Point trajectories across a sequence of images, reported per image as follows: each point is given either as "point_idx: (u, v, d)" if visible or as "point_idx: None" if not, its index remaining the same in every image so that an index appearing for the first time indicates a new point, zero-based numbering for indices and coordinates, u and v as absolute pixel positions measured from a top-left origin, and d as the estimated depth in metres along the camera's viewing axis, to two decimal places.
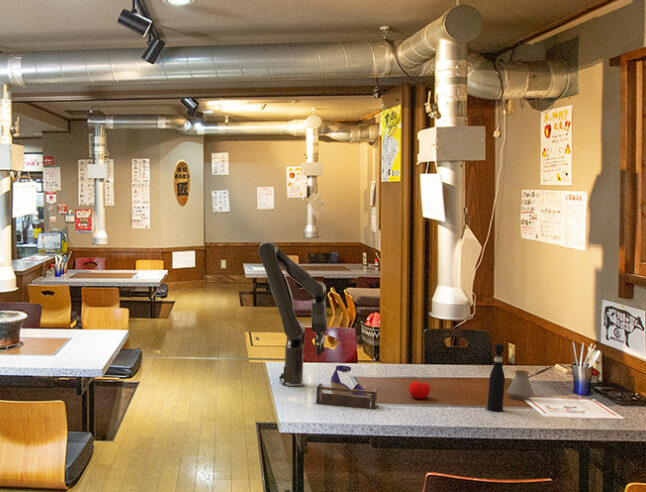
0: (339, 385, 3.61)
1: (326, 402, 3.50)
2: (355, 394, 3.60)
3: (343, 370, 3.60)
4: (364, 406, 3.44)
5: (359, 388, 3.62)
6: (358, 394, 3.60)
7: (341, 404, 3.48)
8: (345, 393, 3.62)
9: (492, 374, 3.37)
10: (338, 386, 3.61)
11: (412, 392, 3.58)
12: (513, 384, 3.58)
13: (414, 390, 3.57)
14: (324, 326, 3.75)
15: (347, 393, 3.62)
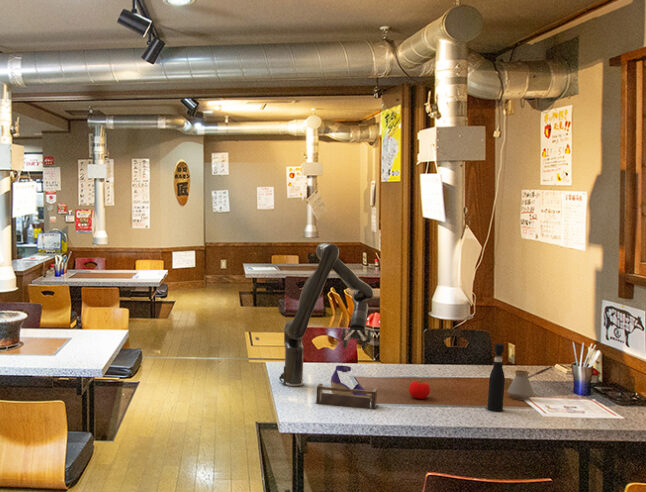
0: (339, 385, 3.61)
1: (326, 402, 3.50)
2: (355, 394, 3.60)
3: (343, 370, 3.60)
4: (364, 406, 3.44)
5: (359, 388, 3.62)
6: (358, 394, 3.60)
7: (341, 404, 3.48)
8: (345, 393, 3.62)
9: (492, 374, 3.37)
10: (338, 386, 3.61)
11: (412, 392, 3.58)
12: (513, 384, 3.58)
13: (414, 390, 3.57)
14: None
15: (347, 393, 3.62)
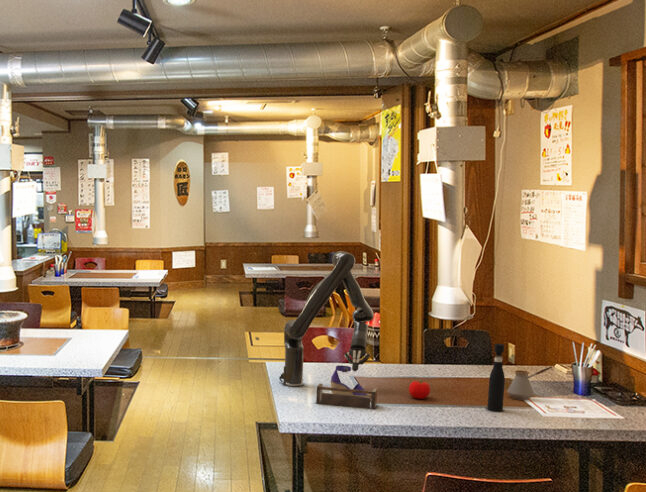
0: (339, 385, 3.61)
1: (326, 402, 3.50)
2: (355, 394, 3.60)
3: (343, 370, 3.60)
4: (364, 406, 3.44)
5: (359, 388, 3.62)
6: (358, 394, 3.60)
7: (341, 404, 3.48)
8: (345, 393, 3.62)
9: (492, 374, 3.37)
10: (338, 386, 3.61)
11: (412, 392, 3.58)
12: (513, 384, 3.58)
13: (414, 390, 3.57)
14: None
15: (347, 393, 3.62)
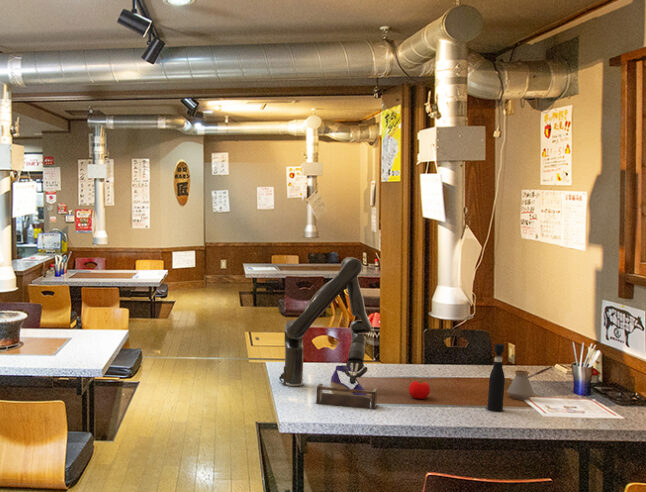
0: (339, 385, 3.61)
1: (326, 402, 3.50)
2: (355, 394, 3.60)
3: (343, 370, 3.59)
4: (364, 406, 3.44)
5: (359, 388, 3.62)
6: (358, 394, 3.60)
7: (341, 404, 3.48)
8: (345, 393, 3.62)
9: (492, 374, 3.37)
10: (338, 386, 3.61)
11: (412, 392, 3.58)
12: (513, 384, 3.58)
13: (414, 390, 3.57)
14: None
15: (347, 393, 3.62)
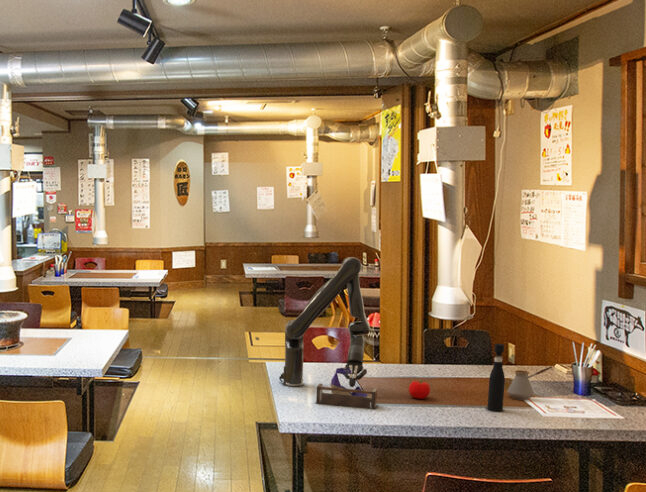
0: None
1: (326, 402, 3.50)
2: None
3: (344, 373, 3.54)
4: (364, 406, 3.44)
5: None
6: None
7: (341, 404, 3.48)
8: None
9: (492, 374, 3.37)
10: None
11: (412, 392, 3.58)
12: (513, 384, 3.58)
13: (414, 390, 3.57)
14: None
15: None
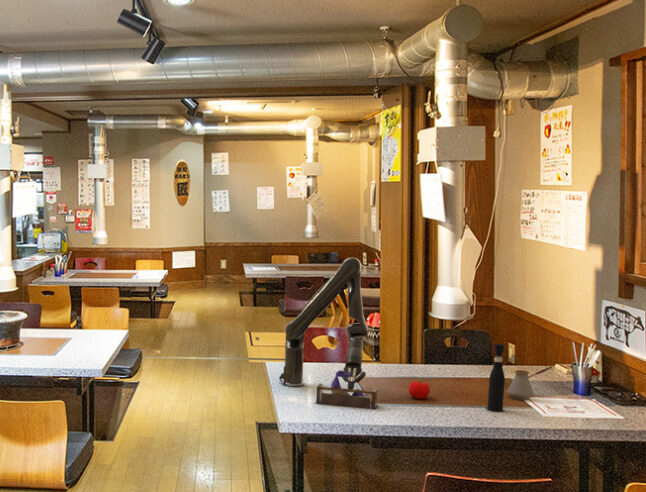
0: (341, 392, 3.49)
1: (326, 402, 3.50)
2: None
3: (345, 376, 3.48)
4: (364, 406, 3.44)
5: (360, 394, 3.52)
6: None
7: (341, 404, 3.48)
8: None
9: (492, 374, 3.37)
10: (340, 393, 3.50)
11: (412, 392, 3.58)
12: (513, 384, 3.58)
13: (414, 390, 3.57)
14: None
15: None
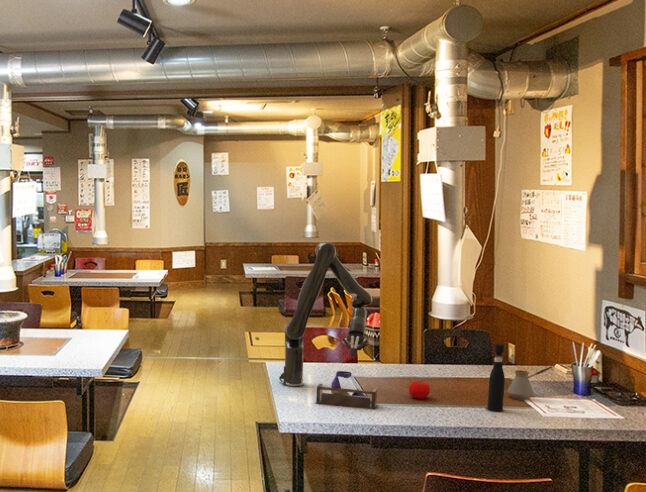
0: (341, 391, 3.49)
1: (326, 402, 3.50)
2: None
3: (345, 376, 3.48)
4: (364, 406, 3.44)
5: (360, 394, 3.52)
6: None
7: (341, 404, 3.48)
8: None
9: (492, 374, 3.37)
10: (340, 393, 3.50)
11: (412, 392, 3.58)
12: (513, 384, 3.58)
13: (414, 390, 3.57)
14: None
15: None
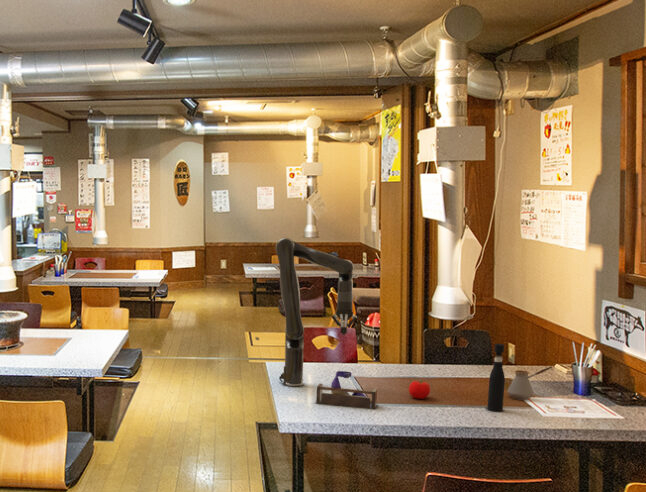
0: (341, 391, 3.49)
1: (326, 402, 3.50)
2: None
3: (345, 376, 3.48)
4: (364, 406, 3.44)
5: (360, 394, 3.52)
6: None
7: (341, 404, 3.48)
8: None
9: (492, 374, 3.37)
10: (340, 393, 3.50)
11: (412, 392, 3.58)
12: (513, 384, 3.58)
13: (414, 390, 3.57)
14: None
15: None
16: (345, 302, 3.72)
